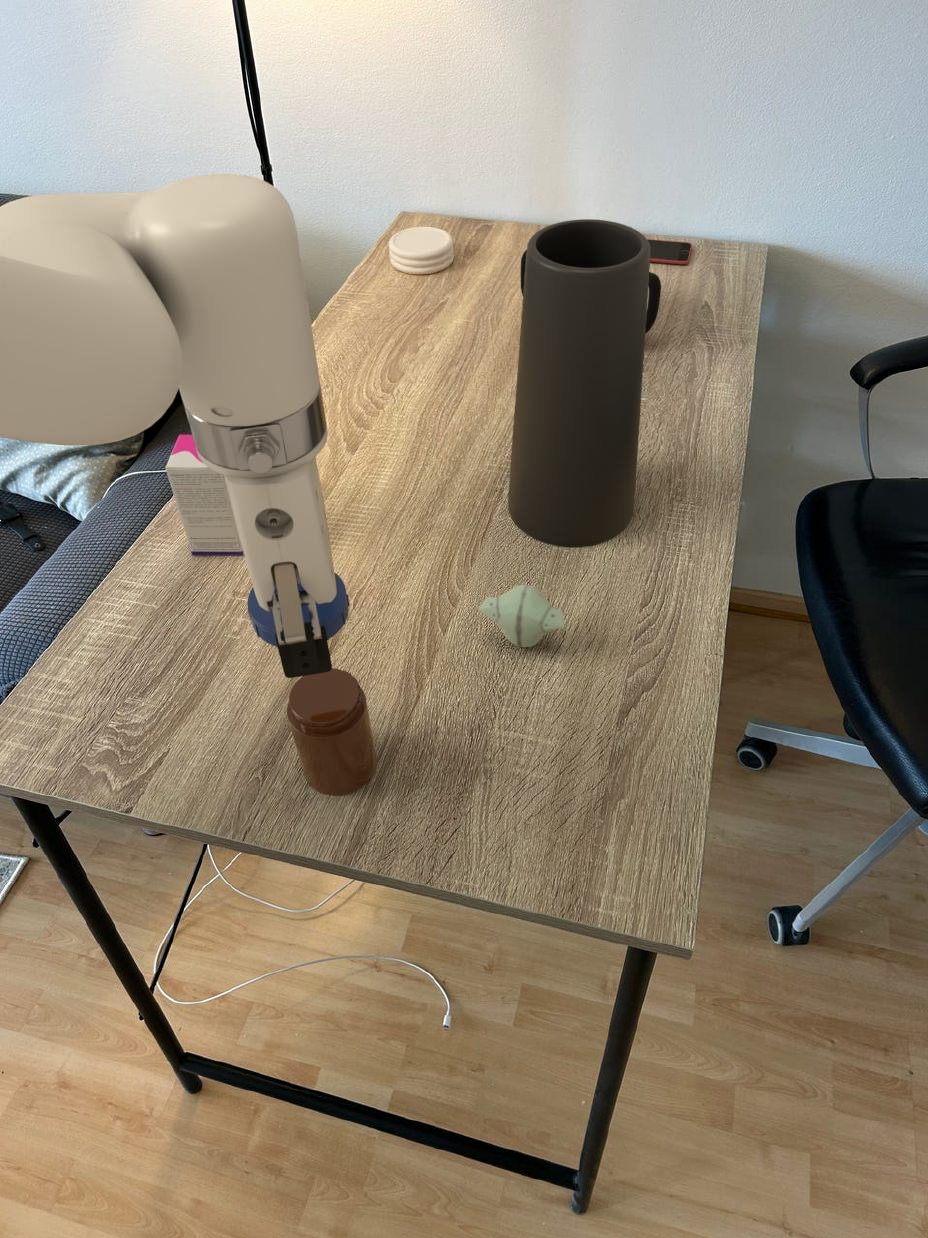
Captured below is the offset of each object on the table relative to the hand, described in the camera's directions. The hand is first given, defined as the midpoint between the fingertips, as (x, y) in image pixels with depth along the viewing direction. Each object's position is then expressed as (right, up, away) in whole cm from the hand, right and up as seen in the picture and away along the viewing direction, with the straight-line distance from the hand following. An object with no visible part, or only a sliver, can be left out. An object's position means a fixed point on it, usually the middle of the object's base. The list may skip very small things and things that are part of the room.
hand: (304, 631), depth 63 cm
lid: (0, +2, -2) cm, 3 cm away
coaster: (+5, +57, +77) cm, 96 cm away
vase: (+23, +13, +35) cm, 44 cm away
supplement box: (-14, +10, +33) cm, 37 cm away
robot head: (+17, -1, +21) cm, 27 cm away
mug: (+28, +40, +60) cm, 77 cm away
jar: (+1, -11, +12) cm, 17 cm away
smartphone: (+39, +58, +76) cm, 104 cm away
